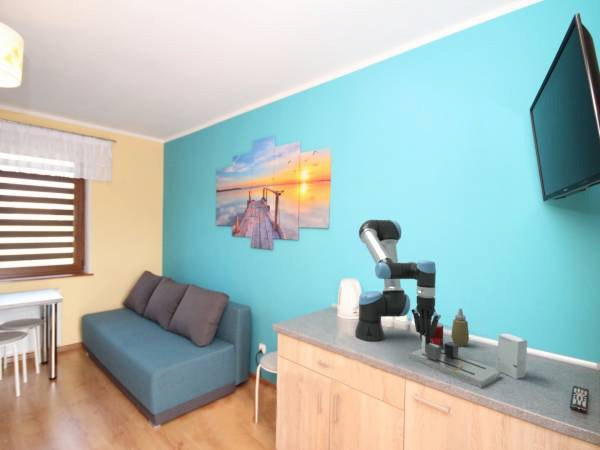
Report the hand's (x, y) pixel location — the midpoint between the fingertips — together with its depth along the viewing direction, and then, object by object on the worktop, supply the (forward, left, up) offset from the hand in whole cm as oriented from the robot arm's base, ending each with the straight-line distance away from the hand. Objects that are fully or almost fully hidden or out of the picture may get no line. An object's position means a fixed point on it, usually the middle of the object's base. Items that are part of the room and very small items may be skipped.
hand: (425, 350), depth 133 cm
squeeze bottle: (-2, +34, -5) cm, 34 cm away
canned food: (-8, +21, -5) cm, 23 cm away
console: (+10, +5, -5) cm, 12 cm away
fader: (+4, 0, -2) cm, 4 cm away
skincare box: (+26, +20, -5) cm, 33 cm away
